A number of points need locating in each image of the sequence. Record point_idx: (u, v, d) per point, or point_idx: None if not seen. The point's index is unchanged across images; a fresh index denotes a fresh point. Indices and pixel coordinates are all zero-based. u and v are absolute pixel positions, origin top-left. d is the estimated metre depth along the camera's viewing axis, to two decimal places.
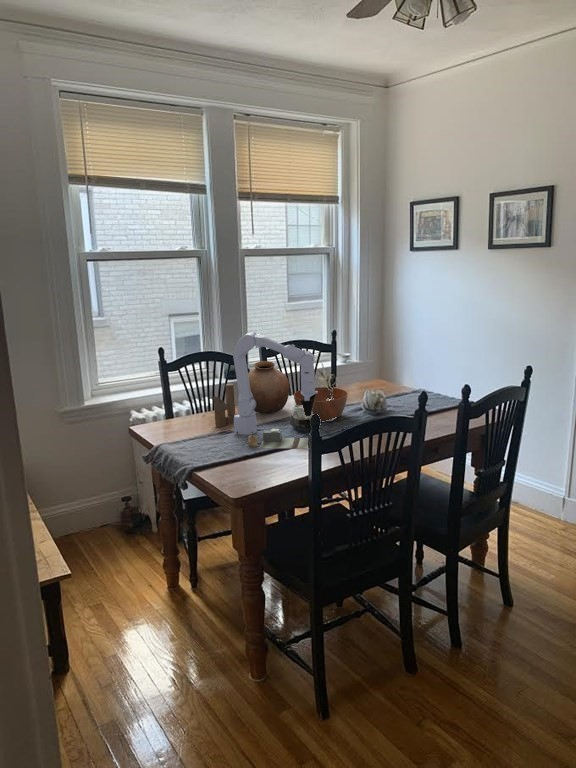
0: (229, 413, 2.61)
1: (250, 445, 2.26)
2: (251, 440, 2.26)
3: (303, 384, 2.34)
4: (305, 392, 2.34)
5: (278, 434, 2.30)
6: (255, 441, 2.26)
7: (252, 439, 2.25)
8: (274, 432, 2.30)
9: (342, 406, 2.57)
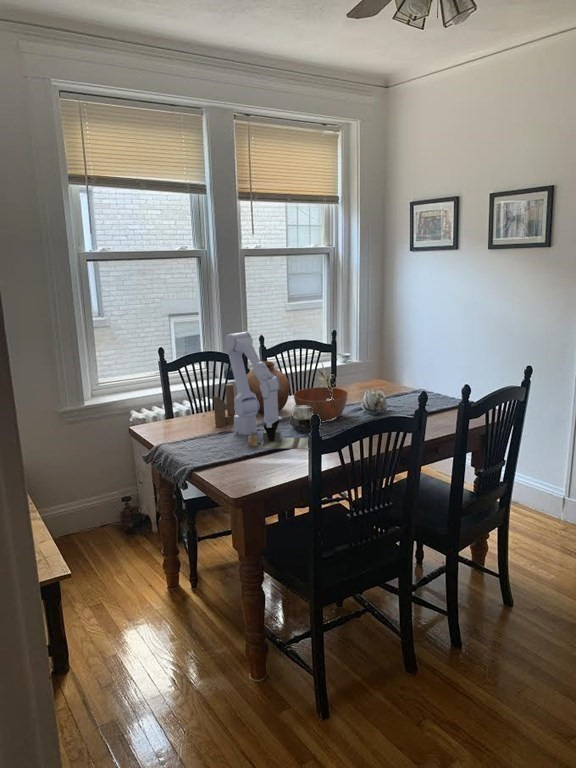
0: (229, 413, 2.61)
1: (250, 445, 2.26)
2: (251, 440, 2.26)
3: (266, 410, 2.28)
4: (268, 418, 2.28)
5: (278, 434, 2.30)
6: (255, 441, 2.26)
7: (252, 439, 2.25)
8: None
9: (342, 406, 2.57)
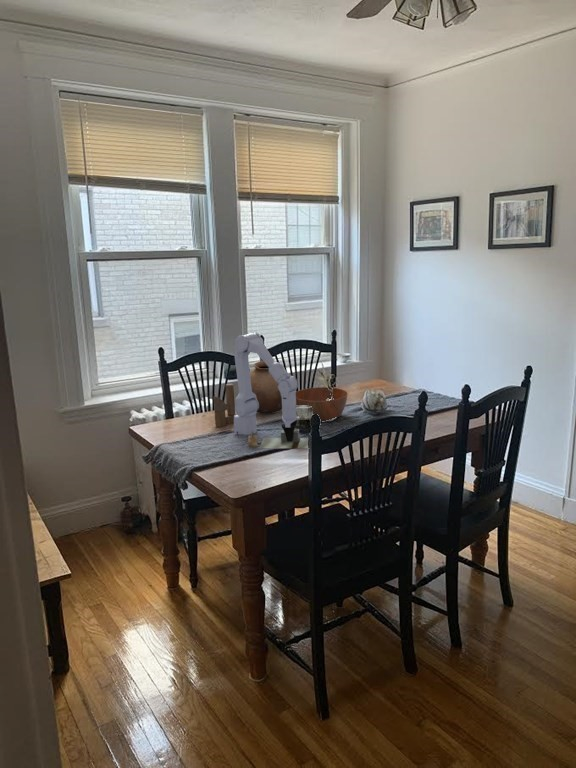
0: (229, 413, 2.61)
1: (250, 445, 2.26)
2: (251, 440, 2.26)
3: (284, 410, 2.27)
4: (286, 418, 2.27)
5: (296, 434, 2.29)
6: (255, 441, 2.26)
7: (252, 439, 2.25)
8: None
9: (342, 406, 2.57)
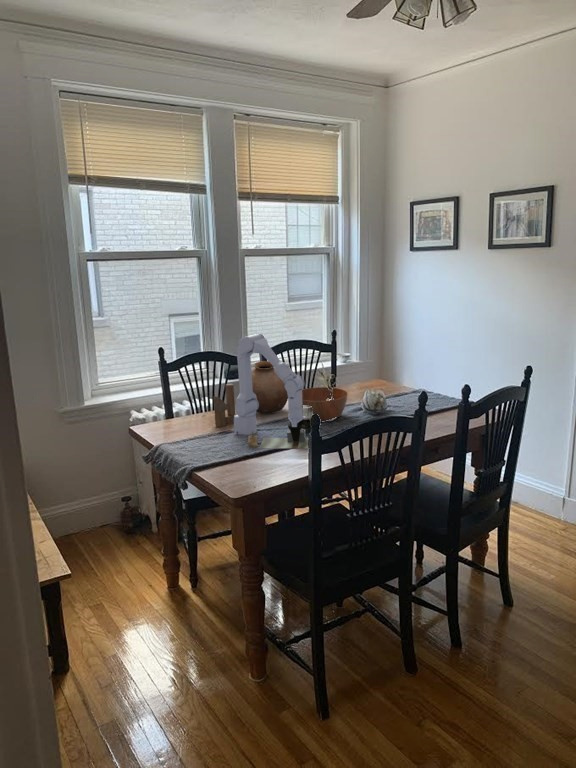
0: (229, 413, 2.61)
1: (250, 445, 2.26)
2: (251, 440, 2.26)
3: (290, 409, 2.27)
4: (293, 418, 2.27)
5: (302, 434, 2.29)
6: (255, 441, 2.26)
7: (252, 439, 2.25)
8: None
9: (342, 406, 2.57)
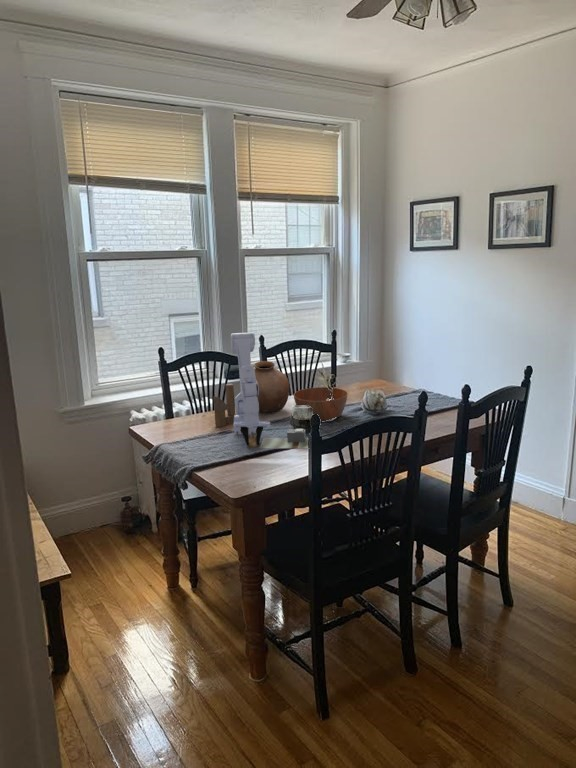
0: (229, 413, 2.61)
1: (250, 445, 2.26)
2: (251, 440, 2.26)
3: None
4: None
5: (302, 434, 2.29)
6: (255, 441, 2.26)
7: (252, 439, 2.25)
8: (298, 432, 2.29)
9: (342, 406, 2.57)
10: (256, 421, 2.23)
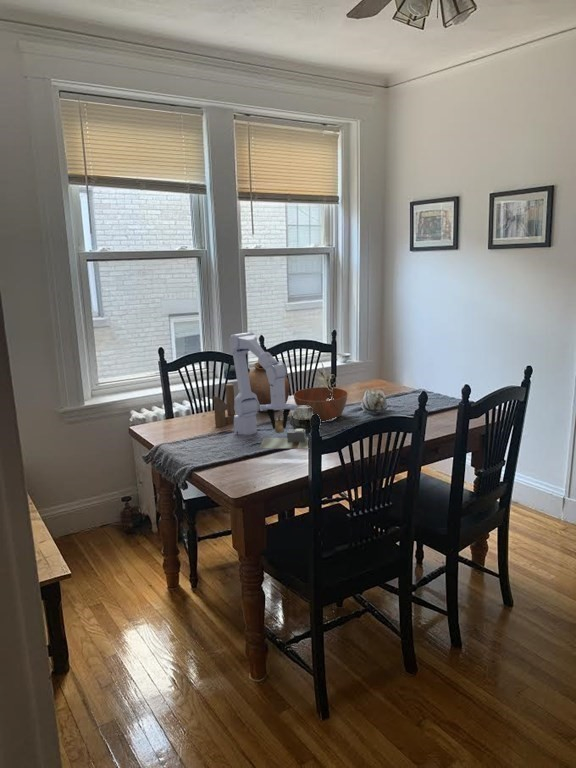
0: (229, 413, 2.61)
1: (276, 428, 2.23)
2: (277, 423, 2.22)
3: None
4: None
5: (302, 434, 2.29)
6: (281, 424, 2.23)
7: (278, 422, 2.22)
8: (298, 432, 2.29)
9: (342, 406, 2.57)
10: (283, 403, 2.20)
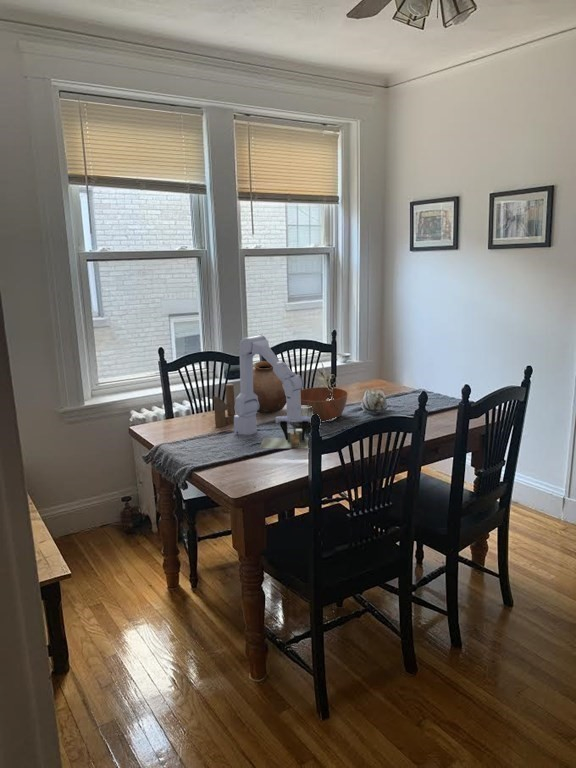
0: (229, 413, 2.61)
1: (292, 442, 2.24)
2: (293, 437, 2.23)
3: None
4: None
5: None
6: (297, 438, 2.24)
7: (294, 436, 2.23)
8: (298, 432, 2.29)
9: (342, 406, 2.57)
10: (299, 415, 2.21)
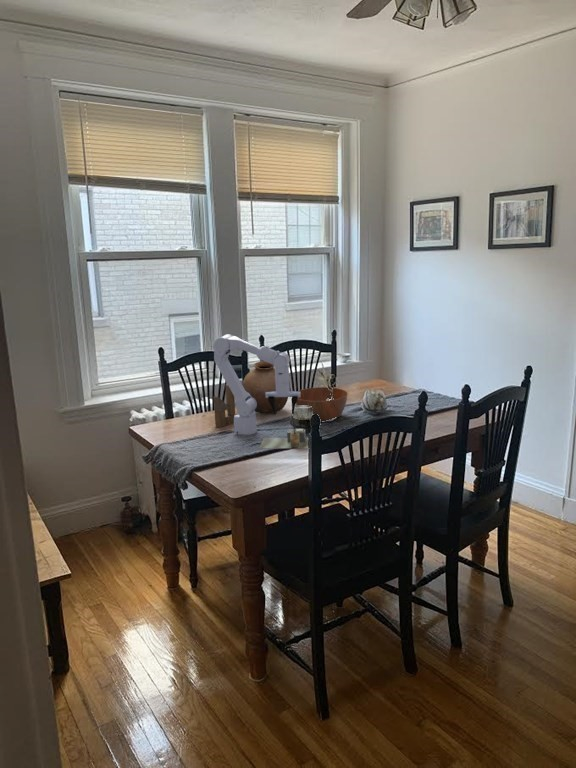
0: (229, 413, 2.61)
1: (292, 442, 2.24)
2: (293, 437, 2.23)
3: None
4: None
5: (302, 434, 2.29)
6: (297, 438, 2.24)
7: (294, 436, 2.23)
8: (298, 432, 2.29)
9: (342, 406, 2.57)
10: (287, 391, 2.35)
